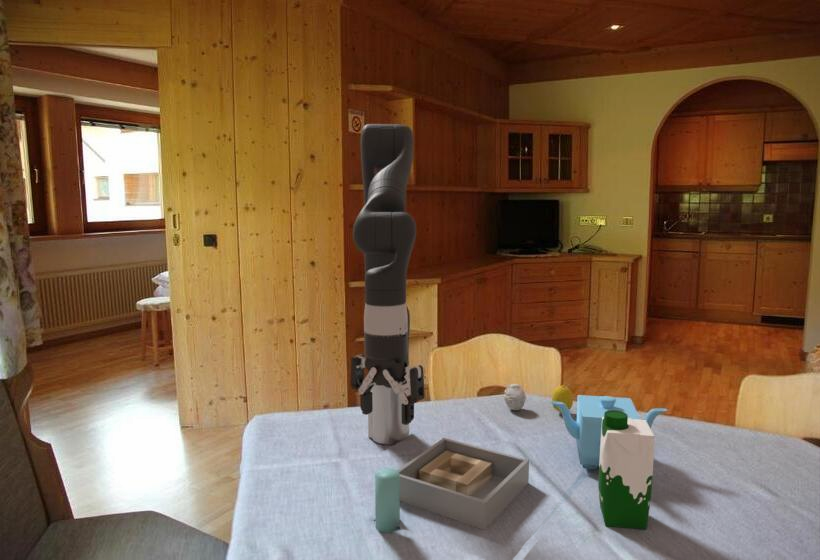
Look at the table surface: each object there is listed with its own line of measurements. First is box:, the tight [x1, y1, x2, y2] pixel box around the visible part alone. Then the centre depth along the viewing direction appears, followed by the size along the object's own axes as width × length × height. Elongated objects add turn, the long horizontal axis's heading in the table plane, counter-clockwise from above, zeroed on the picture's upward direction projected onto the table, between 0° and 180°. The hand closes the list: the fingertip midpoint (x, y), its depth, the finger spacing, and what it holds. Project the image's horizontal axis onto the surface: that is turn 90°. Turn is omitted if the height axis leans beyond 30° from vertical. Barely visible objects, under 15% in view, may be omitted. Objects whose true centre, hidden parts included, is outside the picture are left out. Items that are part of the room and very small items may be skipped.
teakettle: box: [549, 394, 669, 470], centre depth 132 cm, size 19×19×15 cm
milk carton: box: [597, 410, 655, 530], centre depth 109 cm, size 9×9×20 cm
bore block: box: [419, 451, 492, 496], centre depth 123 cm, size 11×11×3 cm
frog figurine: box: [503, 383, 527, 411], centre depth 164 cm, size 6×7×7 cm
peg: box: [374, 468, 401, 534], centre depth 108 cm, size 4×4×10 cm
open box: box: [396, 437, 530, 531], centre depth 119 cm, size 20×20×6 cm
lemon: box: [551, 384, 574, 415], centre depth 161 cm, size 6×6×8 cm
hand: (386, 418), depth 105 cm, fingers open, 8 cm apart
